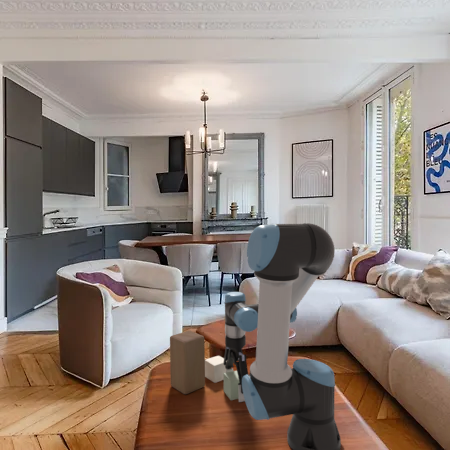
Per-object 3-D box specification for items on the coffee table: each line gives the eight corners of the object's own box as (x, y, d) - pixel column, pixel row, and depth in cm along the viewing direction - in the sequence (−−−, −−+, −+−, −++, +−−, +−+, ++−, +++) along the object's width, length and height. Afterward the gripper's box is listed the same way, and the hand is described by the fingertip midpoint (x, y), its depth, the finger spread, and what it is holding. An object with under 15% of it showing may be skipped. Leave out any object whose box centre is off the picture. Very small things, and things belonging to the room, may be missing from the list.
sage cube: (248, 396, 131) (248, 377, 131) (230, 400, 129) (230, 381, 128) (240, 387, 138) (240, 369, 137) (223, 391, 135) (223, 373, 135)
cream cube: (228, 378, 146) (228, 361, 145) (214, 383, 141) (214, 365, 141) (218, 371, 151) (218, 355, 151) (204, 376, 147) (204, 359, 147)
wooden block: (190, 378, 146) (189, 329, 145) (206, 386, 138) (205, 335, 138) (169, 386, 139) (168, 335, 138) (185, 396, 132) (184, 342, 131)
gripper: (259, 344, 123) (259, 407, 124) (232, 323, 144) (232, 377, 145) (239, 347, 120) (239, 411, 121) (214, 326, 142) (215, 380, 143)
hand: (235, 393), depth 133 cm, fingers open, 11 cm apart
